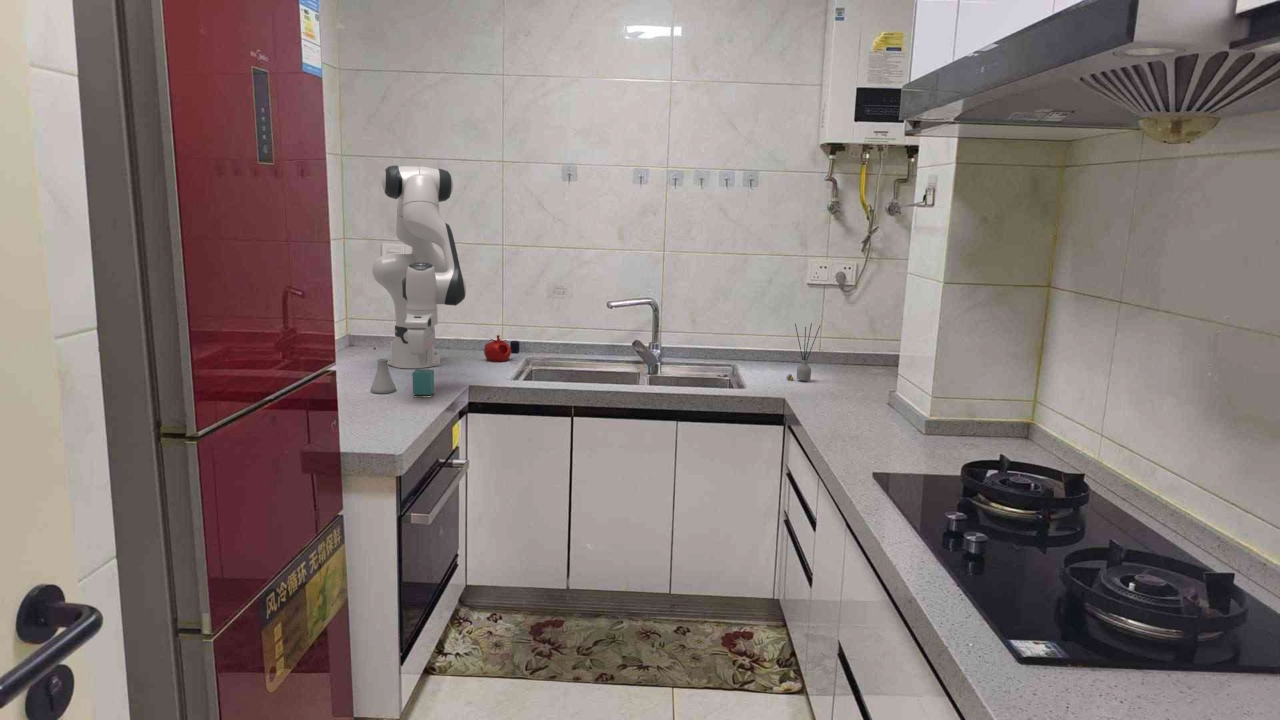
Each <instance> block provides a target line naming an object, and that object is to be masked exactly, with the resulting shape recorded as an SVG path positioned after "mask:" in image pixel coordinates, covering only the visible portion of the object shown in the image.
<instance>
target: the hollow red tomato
mask: <svg viewBox="0 0 1280 720" xmlns="http://www.w3.org/2000/svg"><path fill="white" fill-rule="evenodd" d="M500 337H501V336H500V335H499V334H498V335H496V339H492V338H490V339H489V340H488V342H487V343H486V344H484V348H483V354H484V356H485V358H486V359H487V360H488V361H490V362H506V361H508V359H509V358H510V357H511V355H512V354H511V353H512V348H511V347H510V346H509V344H508V343H509V342H510V341H508V340H507V339H505V340H502V338H500ZM509 360H510V359H509Z"/></svg>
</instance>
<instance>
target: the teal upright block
mask: <svg viewBox="0 0 1280 720" xmlns="http://www.w3.org/2000/svg"><path fill="white" fill-rule="evenodd" d="M411 375H412V395H413V396H414V395H431V394H432V393H433V392H435V369H427V368H426V369H425V368H415V370H414V371H413V372H412V374H411Z"/></svg>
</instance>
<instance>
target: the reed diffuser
mask: <svg viewBox="0 0 1280 720" xmlns="http://www.w3.org/2000/svg"><path fill="white" fill-rule="evenodd" d="M794 326H795V331H796V336H797V340H798V344H799V345H798V346H799V350H800V355H801V364H800V365H799V366H798V367H797V369H796V379H797V380H798V381H810V380H811V375H812V368H811V366H809V365H808V359H809V356H810V354H811V351H812V348H813V347H814V346H813V345H814V343H815V341H816V338H817V335H818V334H819V333H818V332H819V330H820V328H821V325H819V326H818V329H817V331H816V334H815V337H814V339H813V342H812V344H811V347H810V349H809V353H808V354H807V352H808V348H809V347H808V345H809V341H810V336H811V330H812V326H813V325H812V322H811V323H810V327H809V334H808V338H807V343H806V342H803V343H804V345H803V352H802V349H801V348H802V347H801V343H800V338H799V333H798V328H797V324H796V323H794ZM806 334H807V326H805V327H804V340H806V336H807V335H806ZM786 380H788V381H789V380H790V381H794V377H793V374H792V373H789V374H787V375H786Z"/></svg>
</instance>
